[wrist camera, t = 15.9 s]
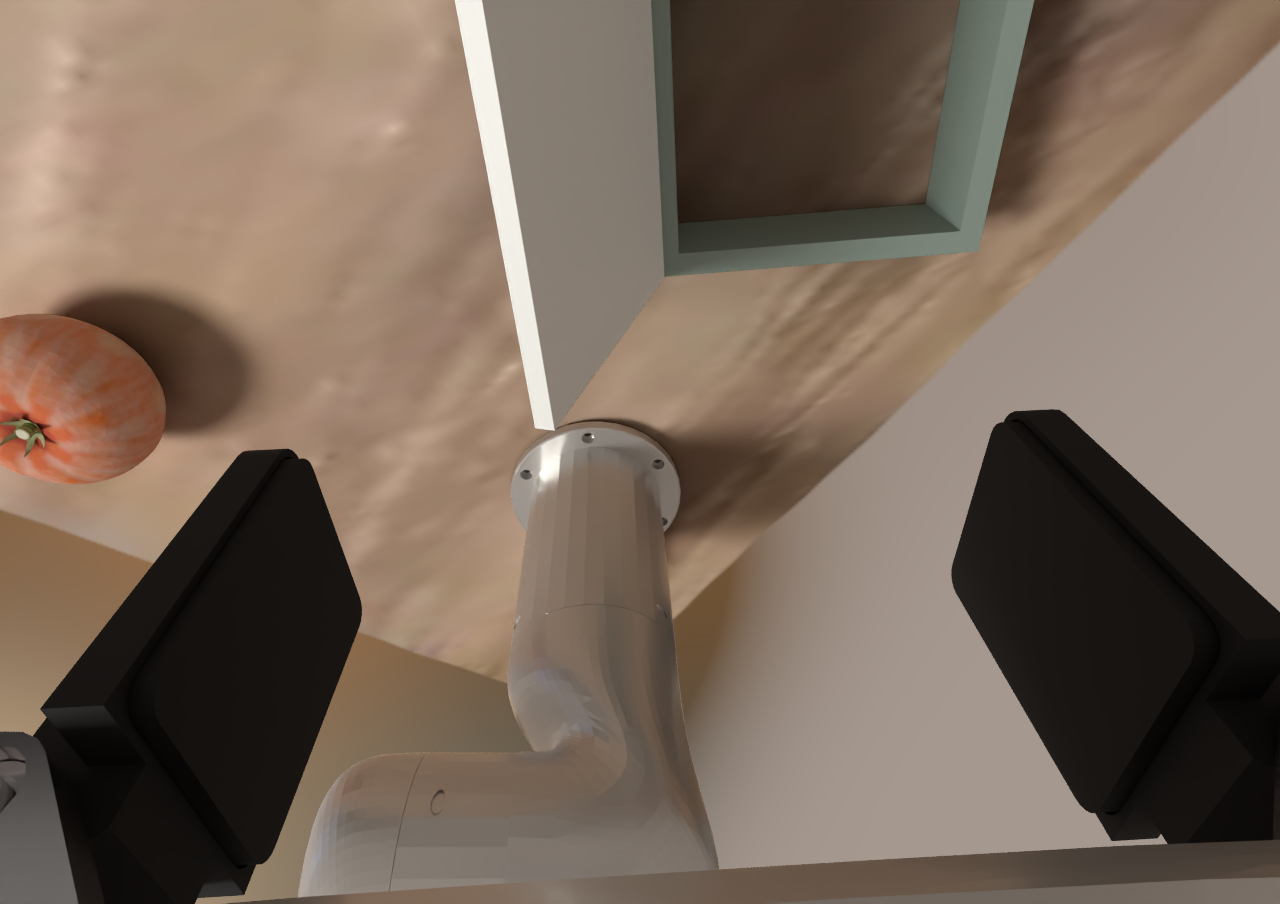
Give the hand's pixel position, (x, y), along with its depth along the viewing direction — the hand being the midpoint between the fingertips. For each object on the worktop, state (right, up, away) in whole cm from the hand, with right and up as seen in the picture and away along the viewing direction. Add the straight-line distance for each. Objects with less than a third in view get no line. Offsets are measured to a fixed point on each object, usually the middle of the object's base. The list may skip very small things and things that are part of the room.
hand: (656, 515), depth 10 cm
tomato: (-35, +6, +35) cm, 50 cm away
